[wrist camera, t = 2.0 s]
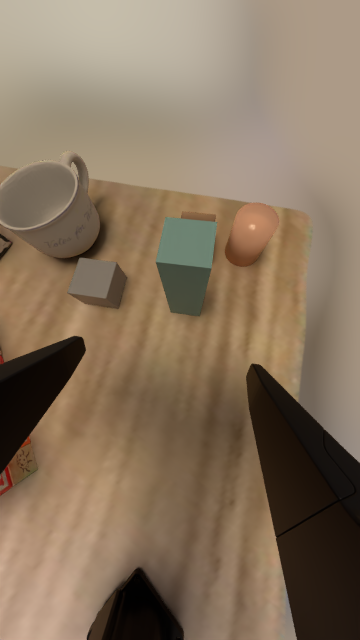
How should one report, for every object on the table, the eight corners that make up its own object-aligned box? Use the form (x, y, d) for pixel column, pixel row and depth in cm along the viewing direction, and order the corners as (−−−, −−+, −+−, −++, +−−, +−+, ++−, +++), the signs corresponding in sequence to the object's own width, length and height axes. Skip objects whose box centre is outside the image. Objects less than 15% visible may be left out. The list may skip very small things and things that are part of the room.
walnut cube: (208, 264, 26) (212, 243, 21) (178, 260, 26) (176, 239, 22) (211, 239, 27) (216, 214, 23) (182, 236, 27) (182, 211, 23)
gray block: (118, 309, 25) (106, 298, 21) (85, 304, 25) (67, 292, 21) (127, 277, 26) (116, 262, 22) (95, 273, 26) (79, 257, 22)
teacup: (77, 279, 26) (31, 243, 18) (28, 248, 28) (-33, 202, 20) (132, 215, 29) (112, 159, 21) (84, 190, 30) (49, 130, 23)
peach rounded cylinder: (265, 251, 26) (287, 217, 20) (244, 272, 25) (261, 244, 19) (239, 232, 27) (253, 196, 21) (218, 252, 26) (227, 220, 20)
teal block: (199, 316, 24) (211, 268, 12) (170, 312, 24) (155, 261, 12) (202, 289, 25) (217, 221, 13) (175, 286, 25) (165, 217, 13)
